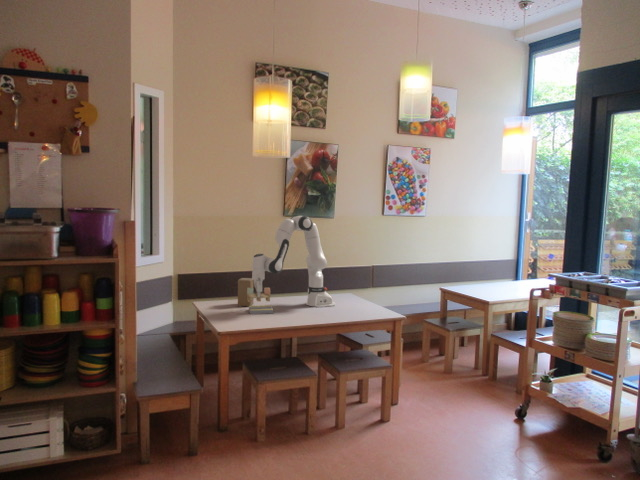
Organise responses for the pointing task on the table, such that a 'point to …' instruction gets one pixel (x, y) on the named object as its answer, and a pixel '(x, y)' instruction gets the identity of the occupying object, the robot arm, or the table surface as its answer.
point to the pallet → (249, 297)
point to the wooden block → (244, 291)
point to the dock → (260, 309)
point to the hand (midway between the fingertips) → (258, 295)
